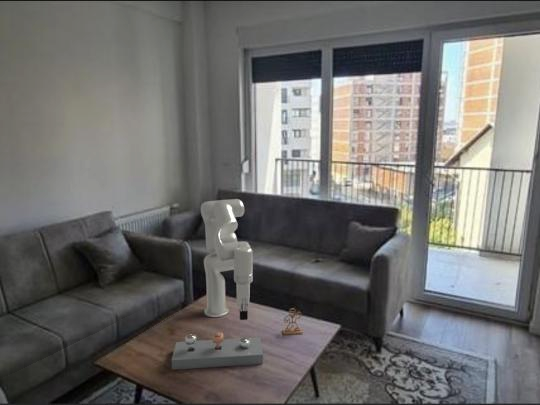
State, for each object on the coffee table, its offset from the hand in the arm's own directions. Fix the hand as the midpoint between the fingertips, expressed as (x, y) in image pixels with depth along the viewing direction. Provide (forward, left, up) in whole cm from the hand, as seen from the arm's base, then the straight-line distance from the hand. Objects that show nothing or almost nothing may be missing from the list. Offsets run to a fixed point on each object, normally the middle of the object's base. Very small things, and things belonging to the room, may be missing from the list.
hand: (243, 318), depth 163 cm
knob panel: (+1, -11, -16) cm, 19 cm away
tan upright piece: (-16, +23, -16) cm, 33 cm away
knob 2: (+1, 0, -15) cm, 15 cm away
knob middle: (+1, -11, -12) cm, 16 cm away
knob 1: (+1, -22, -12) cm, 25 cm away
